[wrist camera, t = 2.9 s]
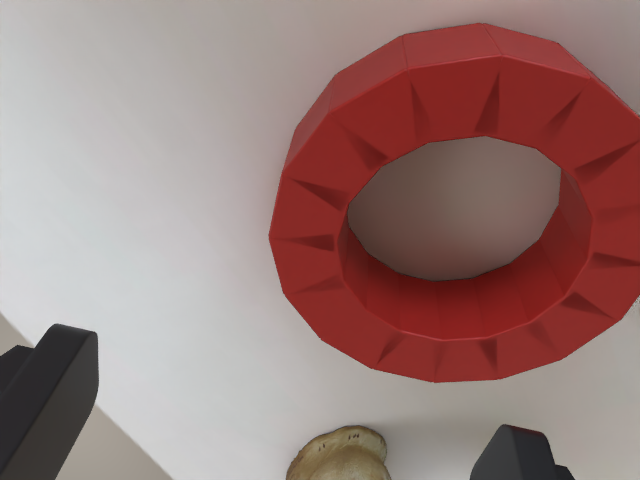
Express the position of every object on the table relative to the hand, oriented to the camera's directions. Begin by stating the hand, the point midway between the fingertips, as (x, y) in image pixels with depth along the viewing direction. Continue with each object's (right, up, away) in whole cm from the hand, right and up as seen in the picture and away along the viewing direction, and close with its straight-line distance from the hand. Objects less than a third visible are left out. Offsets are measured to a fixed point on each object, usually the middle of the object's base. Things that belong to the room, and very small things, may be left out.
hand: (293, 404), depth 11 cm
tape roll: (+5, +5, +9) cm, 12 cm away
